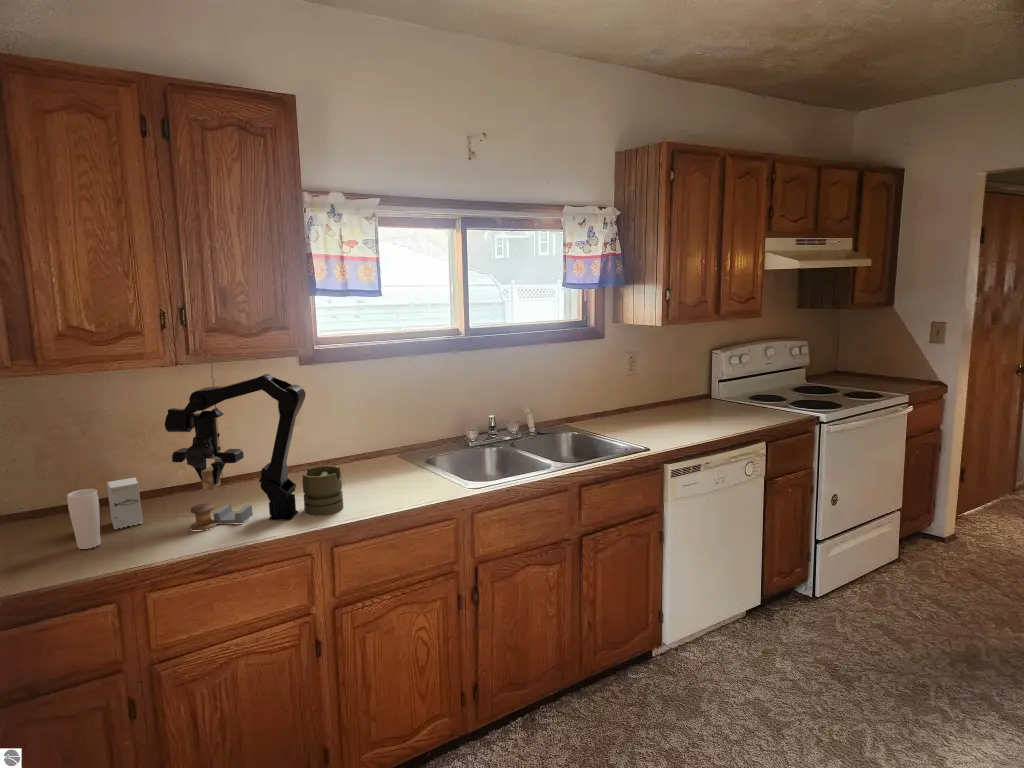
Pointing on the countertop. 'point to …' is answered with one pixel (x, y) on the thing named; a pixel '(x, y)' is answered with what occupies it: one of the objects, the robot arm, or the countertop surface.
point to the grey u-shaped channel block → (232, 514)
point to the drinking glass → (85, 517)
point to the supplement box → (124, 503)
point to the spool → (203, 517)
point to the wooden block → (209, 479)
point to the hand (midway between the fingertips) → (210, 483)
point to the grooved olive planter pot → (322, 490)
